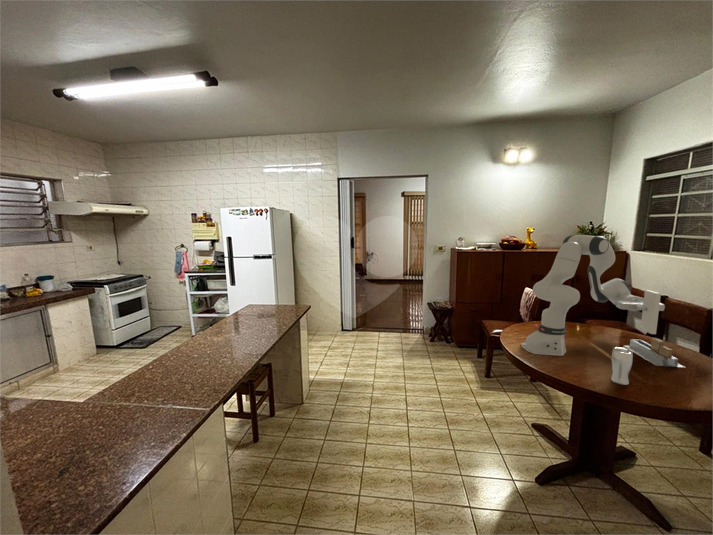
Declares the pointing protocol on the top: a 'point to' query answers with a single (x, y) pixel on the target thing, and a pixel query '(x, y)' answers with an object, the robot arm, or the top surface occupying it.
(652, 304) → the tall panel
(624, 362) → the beer glass
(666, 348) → the short offcut
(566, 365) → the top surface
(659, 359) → the slot rack
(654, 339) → the tall offcut
